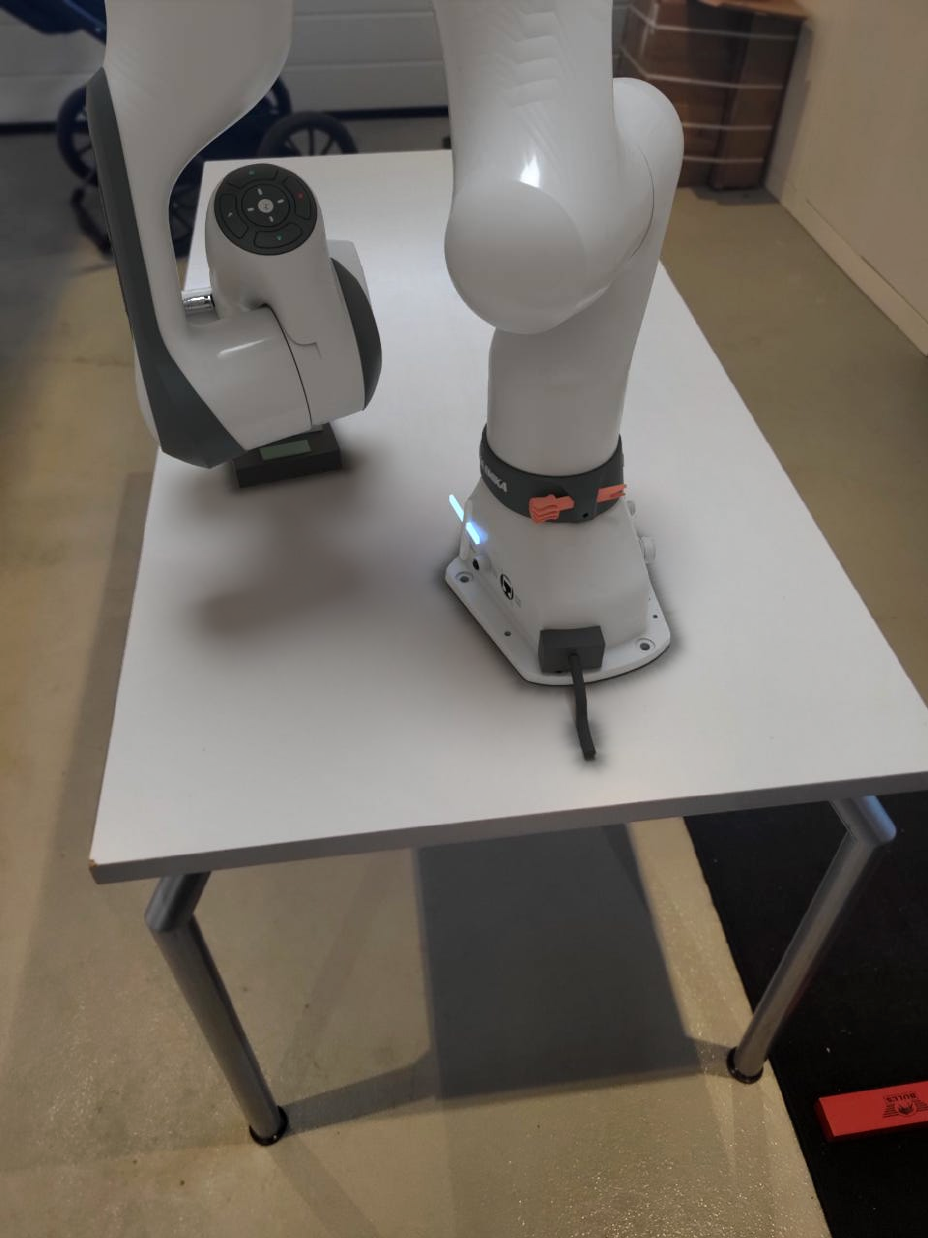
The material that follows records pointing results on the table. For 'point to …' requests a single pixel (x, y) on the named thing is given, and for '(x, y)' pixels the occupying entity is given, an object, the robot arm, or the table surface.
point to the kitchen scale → (289, 457)
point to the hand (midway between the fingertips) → (264, 340)
